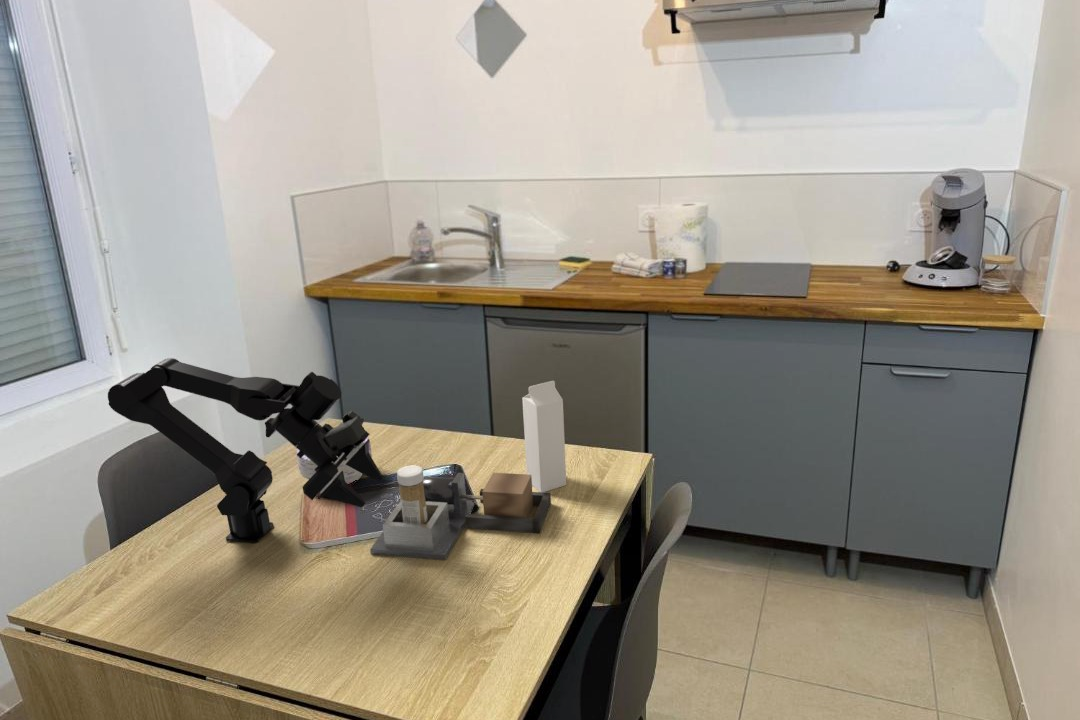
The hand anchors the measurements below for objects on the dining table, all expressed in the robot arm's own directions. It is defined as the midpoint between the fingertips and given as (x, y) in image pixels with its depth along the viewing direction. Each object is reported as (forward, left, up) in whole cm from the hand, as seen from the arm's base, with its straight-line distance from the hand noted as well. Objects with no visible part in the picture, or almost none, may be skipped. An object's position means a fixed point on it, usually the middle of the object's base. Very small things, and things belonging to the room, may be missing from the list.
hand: (373, 492), depth 142 cm
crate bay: (+22, +11, -9) cm, 26 cm away
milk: (+26, +24, -10) cm, 37 cm away
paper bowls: (-19, +21, -10) cm, 30 cm away
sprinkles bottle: (+7, 0, -9) cm, 12 cm away
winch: (+10, +4, -9) cm, 14 cm away
